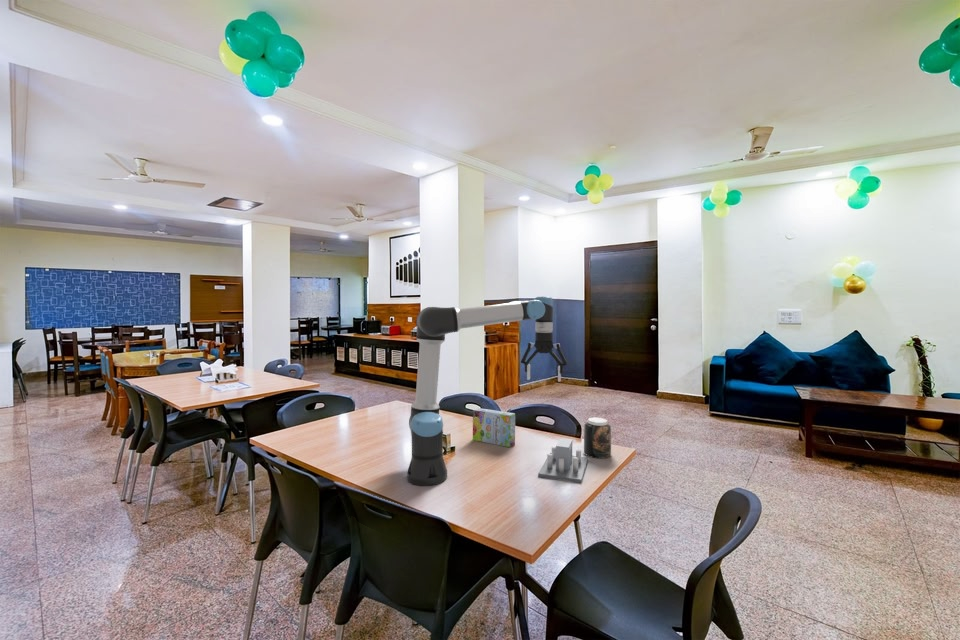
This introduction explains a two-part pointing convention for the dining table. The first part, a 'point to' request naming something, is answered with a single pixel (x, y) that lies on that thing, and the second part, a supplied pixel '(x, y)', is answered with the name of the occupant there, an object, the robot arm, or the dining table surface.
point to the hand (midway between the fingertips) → (543, 380)
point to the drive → (564, 453)
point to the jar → (597, 438)
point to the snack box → (494, 427)
